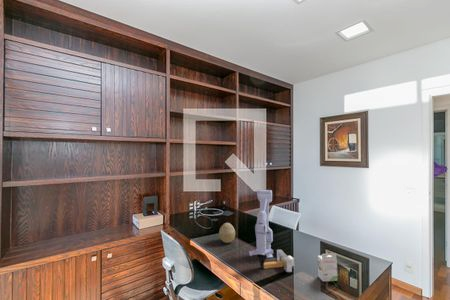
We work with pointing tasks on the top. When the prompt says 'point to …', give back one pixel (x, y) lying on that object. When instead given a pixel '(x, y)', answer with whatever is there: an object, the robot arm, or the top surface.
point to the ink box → (327, 267)
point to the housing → (285, 260)
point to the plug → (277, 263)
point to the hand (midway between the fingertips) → (261, 266)
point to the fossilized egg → (227, 233)
